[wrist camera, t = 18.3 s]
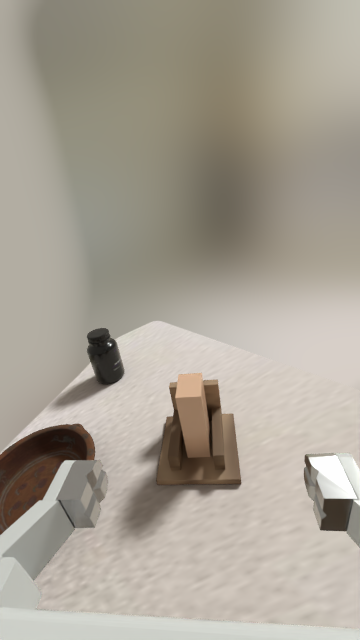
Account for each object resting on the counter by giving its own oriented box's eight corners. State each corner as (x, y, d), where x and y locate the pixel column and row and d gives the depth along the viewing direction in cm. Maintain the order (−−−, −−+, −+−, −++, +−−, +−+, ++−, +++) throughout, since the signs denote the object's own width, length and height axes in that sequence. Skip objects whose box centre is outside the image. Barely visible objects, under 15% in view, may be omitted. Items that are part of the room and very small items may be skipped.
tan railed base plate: (233, 417, 49) (229, 377, 45) (241, 483, 38) (237, 438, 34) (167, 420, 50) (158, 382, 46) (157, 484, 40) (144, 441, 36)
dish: (126, 438, 49) (119, 417, 46) (47, 606, 30) (29, 585, 27) (45, 430, 53) (35, 411, 51) (-69, 572, 34) (-92, 552, 32)
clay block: (210, 430, 46) (201, 372, 40) (210, 457, 41) (201, 396, 36) (189, 431, 46) (178, 374, 41) (187, 457, 42) (175, 397, 36)
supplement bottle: (127, 379, 64) (114, 334, 59) (98, 388, 62) (81, 344, 57) (123, 364, 70) (110, 322, 65) (96, 372, 68) (81, 331, 63)
